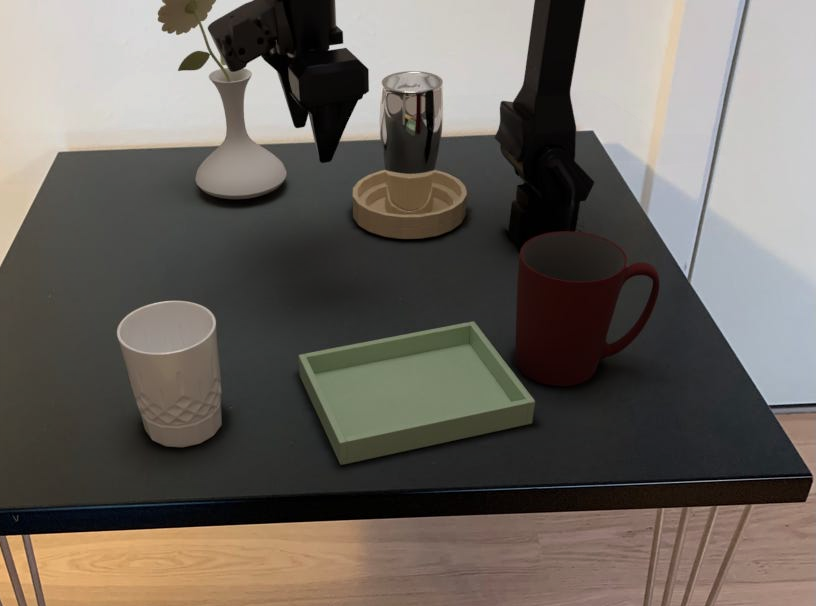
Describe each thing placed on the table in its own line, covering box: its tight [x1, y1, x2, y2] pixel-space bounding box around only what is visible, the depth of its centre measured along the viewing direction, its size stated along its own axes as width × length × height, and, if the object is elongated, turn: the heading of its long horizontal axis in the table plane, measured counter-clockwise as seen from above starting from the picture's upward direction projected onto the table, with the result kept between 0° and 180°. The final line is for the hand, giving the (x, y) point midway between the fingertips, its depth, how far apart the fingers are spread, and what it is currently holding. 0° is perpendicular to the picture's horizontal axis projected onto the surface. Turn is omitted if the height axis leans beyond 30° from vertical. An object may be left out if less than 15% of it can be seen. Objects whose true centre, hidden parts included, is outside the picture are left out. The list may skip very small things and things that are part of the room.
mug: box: [514, 231, 660, 387], centre depth 80 cm, size 12×9×11 cm
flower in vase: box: [157, 0, 288, 200], centre depth 105 cm, size 13×11×25 cm
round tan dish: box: [352, 169, 468, 240], centre depth 106 cm, size 13×13×3 cm
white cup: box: [116, 300, 223, 448], centre depth 75 cm, size 8×8×10 cm
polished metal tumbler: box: [379, 70, 444, 215], centre depth 102 cm, size 7×7×15 cm
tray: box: [298, 320, 536, 466], centre depth 80 cm, size 17×13×2 cm
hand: (312, 143), depth 88 cm, fingers open, 9 cm apart
